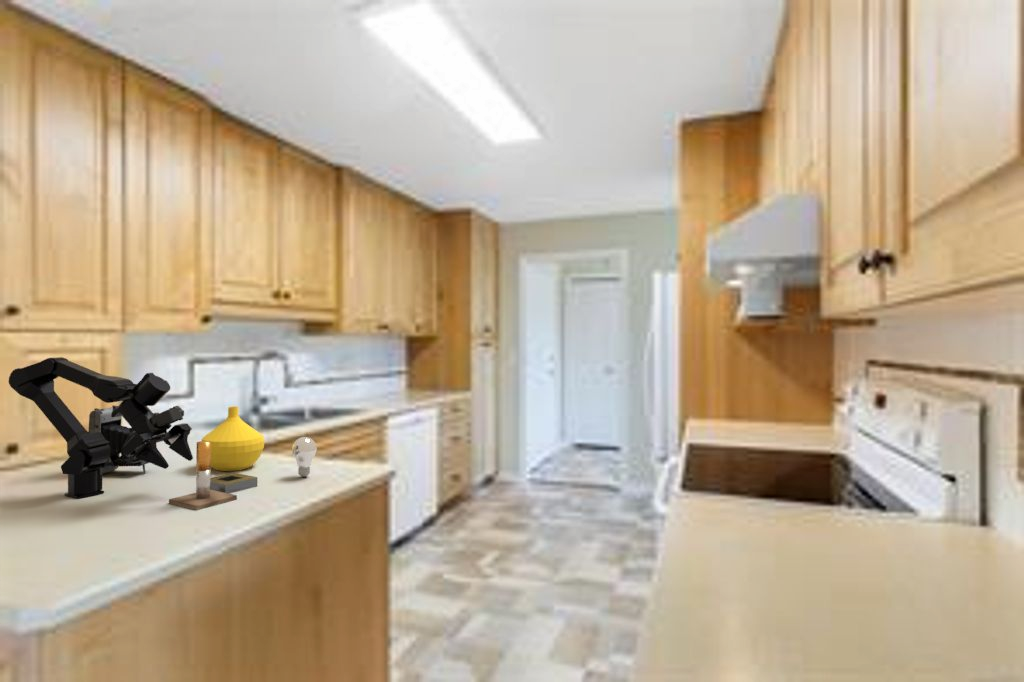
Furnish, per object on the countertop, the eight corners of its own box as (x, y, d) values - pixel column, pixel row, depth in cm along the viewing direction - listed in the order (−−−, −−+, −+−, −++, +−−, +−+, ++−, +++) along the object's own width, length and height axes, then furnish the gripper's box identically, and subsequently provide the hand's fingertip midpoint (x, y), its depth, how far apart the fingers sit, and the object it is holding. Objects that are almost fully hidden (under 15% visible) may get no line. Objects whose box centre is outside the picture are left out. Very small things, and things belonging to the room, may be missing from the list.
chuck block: (225, 494, 159) (225, 484, 159) (201, 489, 164) (201, 479, 164) (257, 486, 168) (257, 477, 168) (233, 481, 173) (233, 472, 172)
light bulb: (320, 474, 182) (320, 435, 182) (310, 480, 175) (310, 439, 175) (298, 474, 183) (298, 434, 182) (287, 479, 176) (287, 438, 175)
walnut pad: (196, 510, 145) (196, 505, 145) (168, 503, 150) (168, 499, 150) (236, 499, 155) (236, 495, 155) (209, 493, 160) (209, 489, 160)
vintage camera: (137, 480, 174) (141, 411, 174) (84, 476, 174) (88, 408, 174) (157, 472, 184) (161, 407, 184) (107, 469, 184) (111, 404, 184)
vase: (193, 475, 178) (194, 411, 178) (207, 462, 196) (207, 404, 195) (260, 473, 183) (260, 410, 183) (267, 460, 201) (268, 403, 200)
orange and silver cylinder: (197, 499, 150) (198, 443, 150) (194, 496, 153) (195, 441, 152) (211, 497, 152) (212, 442, 152) (208, 494, 155) (209, 440, 154)
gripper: (134, 401, 144) (176, 449, 143) (185, 393, 163) (223, 436, 162) (103, 432, 145) (145, 480, 144) (158, 421, 164) (195, 463, 163)
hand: (179, 463), depth 153 cm, fingers open, 9 cm apart
